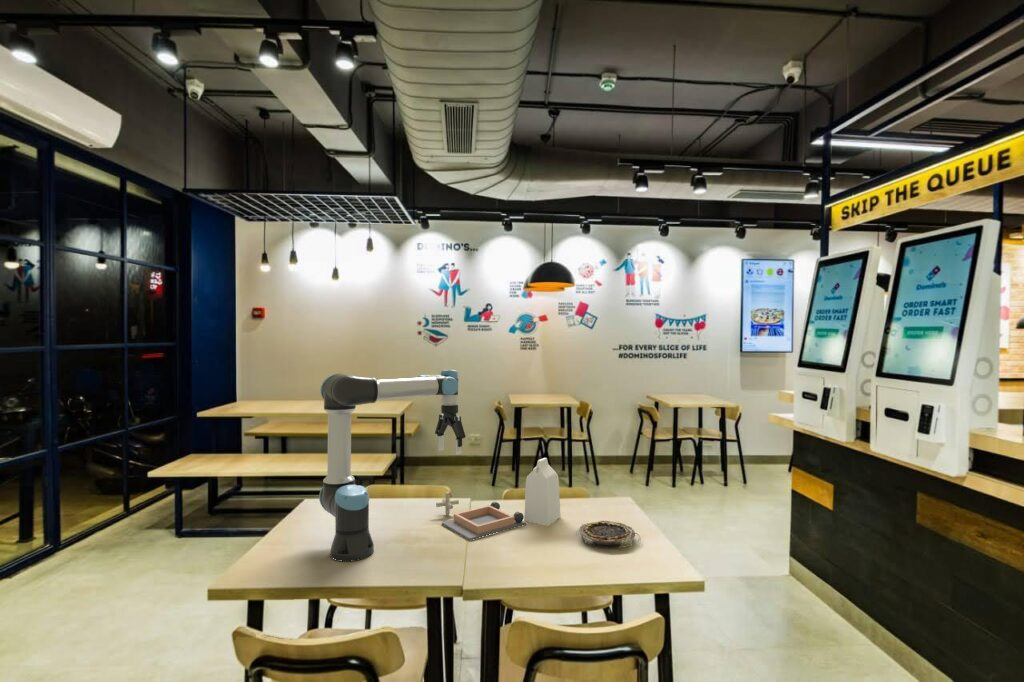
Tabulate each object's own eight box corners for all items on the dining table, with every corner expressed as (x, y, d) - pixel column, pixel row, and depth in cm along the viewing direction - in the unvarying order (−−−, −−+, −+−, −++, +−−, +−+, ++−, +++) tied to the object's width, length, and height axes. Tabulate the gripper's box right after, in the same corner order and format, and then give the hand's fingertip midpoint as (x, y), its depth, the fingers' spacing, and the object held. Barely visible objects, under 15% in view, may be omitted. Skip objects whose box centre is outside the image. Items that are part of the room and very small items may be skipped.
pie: (644, 558, 180) (644, 544, 180) (567, 553, 186) (567, 539, 186) (640, 529, 208) (640, 517, 208) (573, 526, 213) (573, 514, 213)
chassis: (469, 541, 195) (469, 528, 195) (441, 524, 213) (441, 512, 213) (526, 524, 212) (526, 512, 212) (495, 510, 230) (495, 499, 230)
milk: (548, 526, 211) (547, 463, 211) (524, 520, 217) (524, 460, 217) (560, 517, 221) (560, 458, 221) (537, 512, 227) (537, 455, 227)
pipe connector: (433, 513, 227) (433, 490, 227) (454, 509, 231) (454, 488, 231) (440, 520, 218) (439, 497, 218) (461, 516, 222) (461, 494, 222)
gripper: (473, 405, 219) (473, 454, 218) (441, 402, 237) (441, 447, 236) (459, 406, 214) (459, 457, 213) (427, 403, 232) (427, 449, 231)
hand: (449, 452), depth 225 cm, fingers open, 13 cm apart
